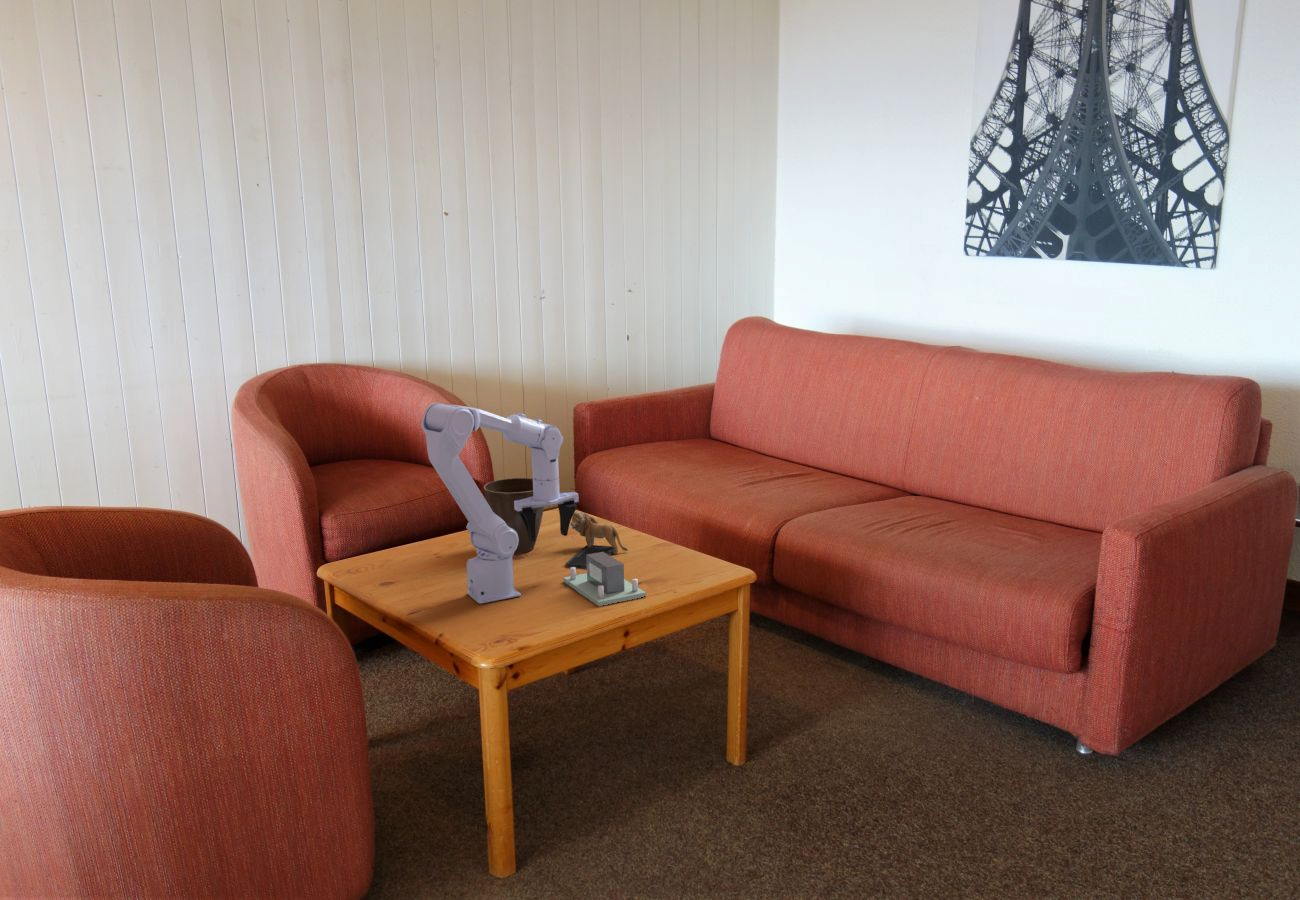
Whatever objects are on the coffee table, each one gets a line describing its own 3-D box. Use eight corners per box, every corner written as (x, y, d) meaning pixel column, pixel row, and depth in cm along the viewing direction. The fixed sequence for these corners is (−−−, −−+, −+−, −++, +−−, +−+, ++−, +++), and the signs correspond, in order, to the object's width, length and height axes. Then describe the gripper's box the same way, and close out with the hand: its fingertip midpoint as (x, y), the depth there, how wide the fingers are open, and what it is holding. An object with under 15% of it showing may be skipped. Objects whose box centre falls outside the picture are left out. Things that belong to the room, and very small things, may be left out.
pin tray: (599, 606, 229) (598, 590, 228) (563, 581, 244) (562, 566, 243) (645, 596, 234) (645, 581, 233) (608, 573, 249) (607, 558, 248)
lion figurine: (567, 549, 267) (566, 513, 265) (577, 543, 272) (576, 508, 270) (623, 555, 262) (622, 519, 260) (632, 549, 266) (631, 513, 264)
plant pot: (478, 545, 272) (475, 482, 268) (535, 536, 278) (532, 474, 275) (500, 562, 259) (496, 496, 255) (558, 551, 266) (556, 487, 262)
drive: (607, 594, 233) (606, 567, 231) (587, 581, 241) (586, 554, 240) (624, 590, 235) (623, 564, 233) (603, 577, 243) (603, 551, 242)
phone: (617, 546, 266) (596, 566, 252) (617, 551, 266) (596, 571, 252) (586, 544, 268) (564, 563, 254) (586, 549, 268) (564, 568, 254)
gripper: (521, 486, 235) (524, 547, 238) (583, 477, 242) (585, 536, 245) (509, 479, 241) (512, 539, 244) (570, 470, 248) (572, 529, 251)
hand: (548, 537), depth 245 cm, fingers open, 7 cm apart
